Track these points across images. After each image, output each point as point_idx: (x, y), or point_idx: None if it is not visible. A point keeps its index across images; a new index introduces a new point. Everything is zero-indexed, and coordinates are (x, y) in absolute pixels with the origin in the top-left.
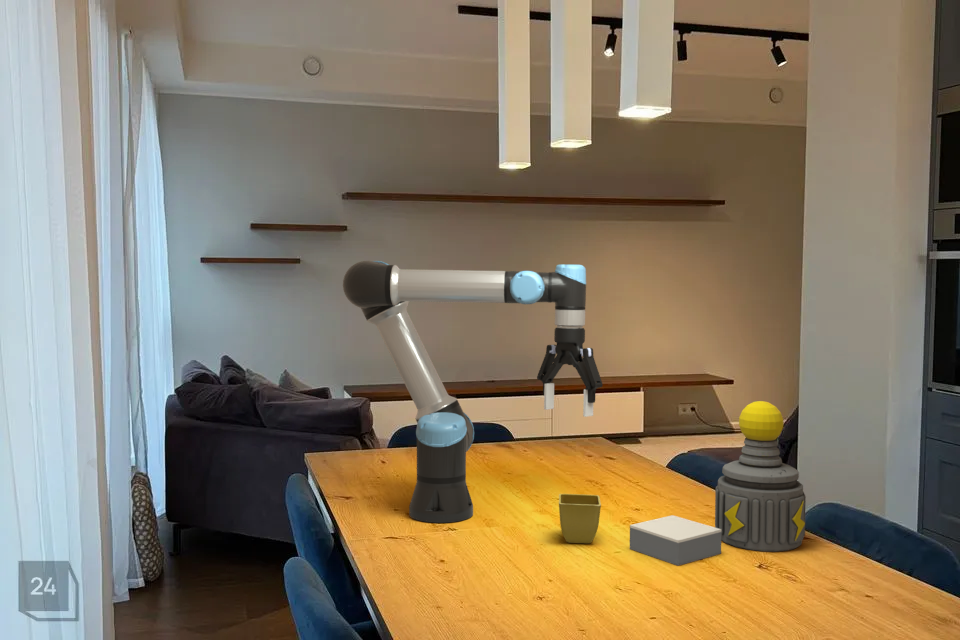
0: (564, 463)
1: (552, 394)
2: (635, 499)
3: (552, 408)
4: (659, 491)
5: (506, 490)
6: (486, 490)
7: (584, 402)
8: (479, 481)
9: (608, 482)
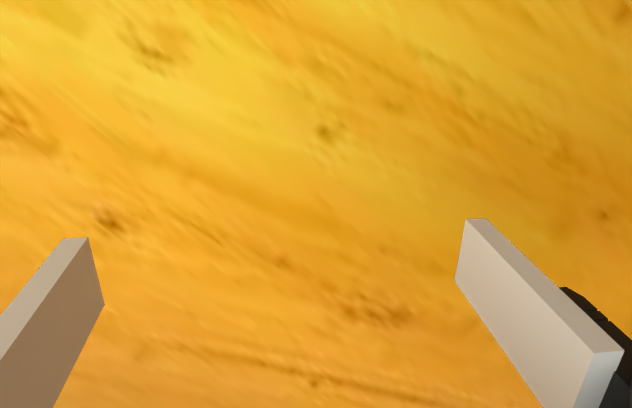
0: None
1: (507, 337)
2: (193, 284)
3: (456, 272)
4: (219, 369)
5: (496, 79)
6: (543, 28)
7: (26, 304)
8: (621, 88)
9: (357, 337)
